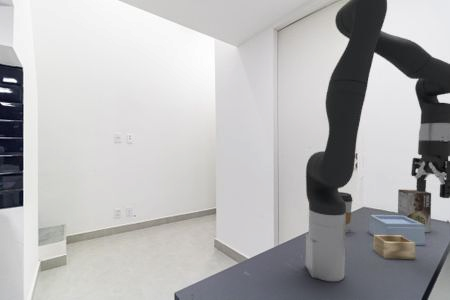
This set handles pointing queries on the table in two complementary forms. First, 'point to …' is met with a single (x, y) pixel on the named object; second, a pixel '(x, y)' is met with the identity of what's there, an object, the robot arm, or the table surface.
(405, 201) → the coffee box
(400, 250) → the small crate
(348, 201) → the coffee cup
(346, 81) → the robot arm
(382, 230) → the base crate
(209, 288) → the table surface
